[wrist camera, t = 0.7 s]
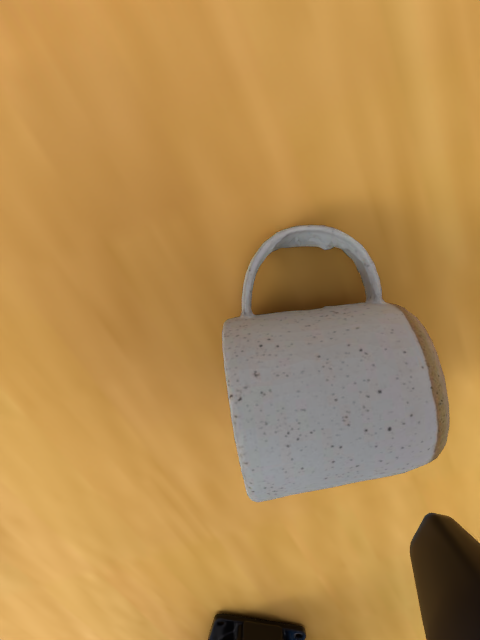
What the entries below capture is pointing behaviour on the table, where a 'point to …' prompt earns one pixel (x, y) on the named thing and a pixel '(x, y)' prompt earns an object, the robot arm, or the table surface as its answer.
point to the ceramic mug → (331, 384)
